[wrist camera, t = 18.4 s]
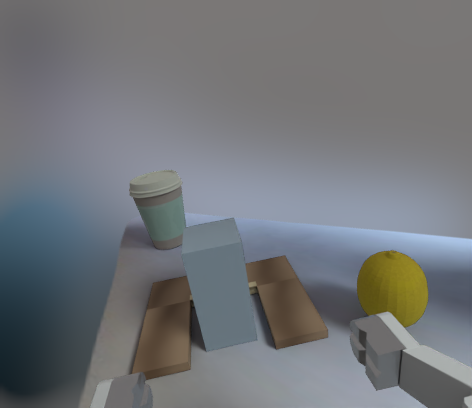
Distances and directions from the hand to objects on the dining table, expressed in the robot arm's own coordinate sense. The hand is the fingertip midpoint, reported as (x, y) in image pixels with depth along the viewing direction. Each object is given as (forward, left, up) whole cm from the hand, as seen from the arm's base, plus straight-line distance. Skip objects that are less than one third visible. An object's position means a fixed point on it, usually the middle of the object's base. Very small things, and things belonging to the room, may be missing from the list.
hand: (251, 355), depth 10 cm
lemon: (-14, -11, -13) cm, 22 cm away
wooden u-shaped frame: (+1, -17, -13) cm, 21 cm away
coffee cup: (+9, -37, -13) cm, 40 cm away
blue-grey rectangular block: (+1, -15, -13) cm, 19 cm away
